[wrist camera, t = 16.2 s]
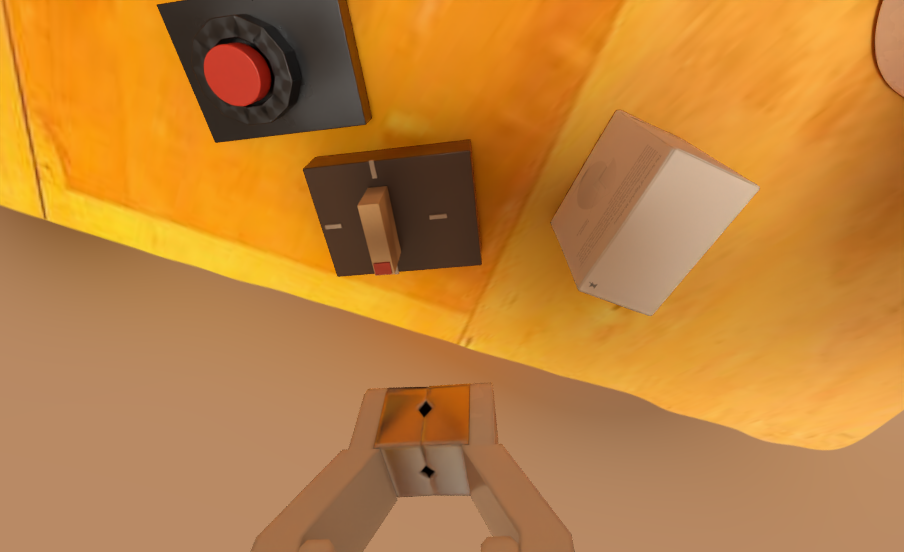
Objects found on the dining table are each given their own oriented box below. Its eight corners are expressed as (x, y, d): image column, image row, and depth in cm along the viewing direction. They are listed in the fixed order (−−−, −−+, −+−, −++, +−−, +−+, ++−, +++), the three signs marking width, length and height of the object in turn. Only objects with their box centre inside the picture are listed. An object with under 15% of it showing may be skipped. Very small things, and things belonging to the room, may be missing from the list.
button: (260, 38, 27) (247, 40, 25) (279, 98, 29) (268, 103, 27) (208, 46, 27) (192, 48, 26) (230, 104, 29) (217, 109, 28)
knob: (367, 187, 33) (355, 206, 29) (387, 185, 32) (378, 204, 29) (383, 253, 36) (374, 277, 33) (401, 252, 36) (394, 276, 33)
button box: (341, -22, 28) (323, -26, 24) (372, 117, 33) (360, 130, 29) (176, 4, 29) (137, 4, 26) (229, 135, 34) (202, 149, 31)
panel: (470, 138, 33) (470, 149, 31) (481, 249, 39) (481, 267, 36) (314, 155, 35) (300, 168, 32) (346, 260, 40) (337, 279, 37)
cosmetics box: (612, 247, 38) (653, 321, 29) (548, 222, 37) (572, 290, 28) (688, 139, 32) (767, 189, 24) (617, 106, 31) (672, 145, 23)
